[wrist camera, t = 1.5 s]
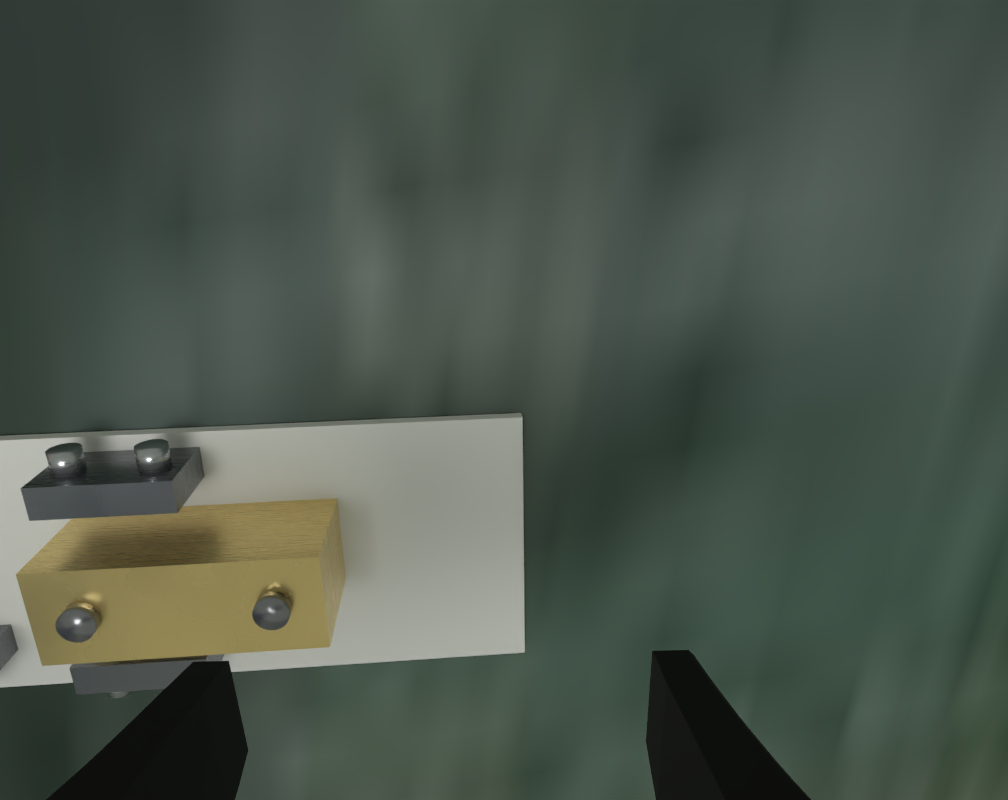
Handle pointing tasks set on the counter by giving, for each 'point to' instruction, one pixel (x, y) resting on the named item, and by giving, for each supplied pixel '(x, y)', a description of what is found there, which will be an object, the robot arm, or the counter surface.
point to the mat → (363, 521)
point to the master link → (187, 583)
